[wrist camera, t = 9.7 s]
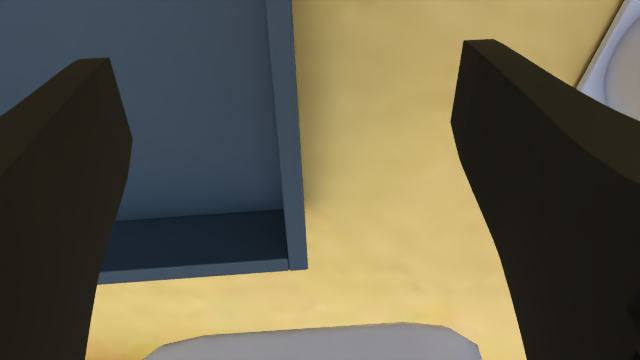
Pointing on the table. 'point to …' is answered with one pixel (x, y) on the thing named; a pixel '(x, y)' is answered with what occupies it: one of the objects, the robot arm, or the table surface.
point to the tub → (183, 126)
